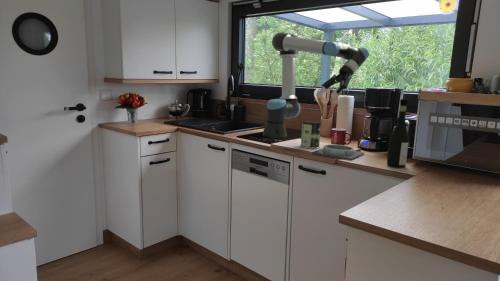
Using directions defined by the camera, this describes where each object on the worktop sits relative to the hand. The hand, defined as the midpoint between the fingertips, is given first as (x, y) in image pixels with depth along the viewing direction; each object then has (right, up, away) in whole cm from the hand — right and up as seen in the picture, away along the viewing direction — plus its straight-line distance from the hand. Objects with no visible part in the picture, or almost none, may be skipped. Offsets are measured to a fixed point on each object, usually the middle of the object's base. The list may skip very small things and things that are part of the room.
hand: (324, 96), depth 200 cm
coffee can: (-8, -28, +1) cm, 29 cm away
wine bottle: (+25, -36, -36) cm, 56 cm away
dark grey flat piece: (+4, -31, -15) cm, 35 cm away
